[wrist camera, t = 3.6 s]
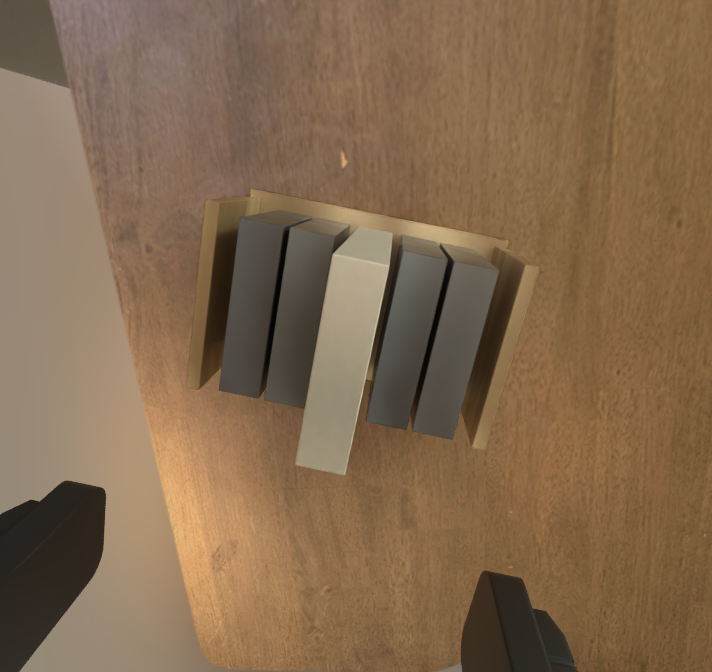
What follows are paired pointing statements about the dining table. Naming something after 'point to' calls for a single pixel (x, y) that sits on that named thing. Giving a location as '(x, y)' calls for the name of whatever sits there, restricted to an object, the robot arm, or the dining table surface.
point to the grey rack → (396, 319)
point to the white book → (343, 349)
